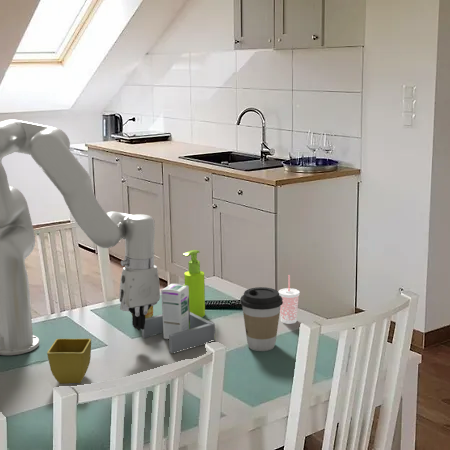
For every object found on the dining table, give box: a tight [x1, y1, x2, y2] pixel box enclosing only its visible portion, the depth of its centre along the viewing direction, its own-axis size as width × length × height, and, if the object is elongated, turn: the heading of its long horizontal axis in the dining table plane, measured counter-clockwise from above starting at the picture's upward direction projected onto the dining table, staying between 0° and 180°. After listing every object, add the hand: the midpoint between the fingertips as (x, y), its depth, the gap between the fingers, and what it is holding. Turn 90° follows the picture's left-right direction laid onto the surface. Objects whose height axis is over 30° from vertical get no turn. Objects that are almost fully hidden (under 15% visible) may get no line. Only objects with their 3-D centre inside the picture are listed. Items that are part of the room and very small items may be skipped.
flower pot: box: [46, 338, 92, 385], centre depth 175 cm, size 9×9×9 cm
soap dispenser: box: [182, 249, 206, 318], centre depth 215 cm, size 6×7×20 cm
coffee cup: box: [239, 286, 283, 352], centre depth 193 cm, size 11×11×15 cm
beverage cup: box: [277, 274, 301, 325], centre depth 211 cm, size 6×6×14 cm
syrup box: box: [160, 283, 190, 340], centre depth 200 cm, size 6×6×14 cm
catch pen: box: [141, 312, 216, 354], centre depth 200 cm, size 14×15×5 cm
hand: (138, 328), depth 194 cm, fingers closed
